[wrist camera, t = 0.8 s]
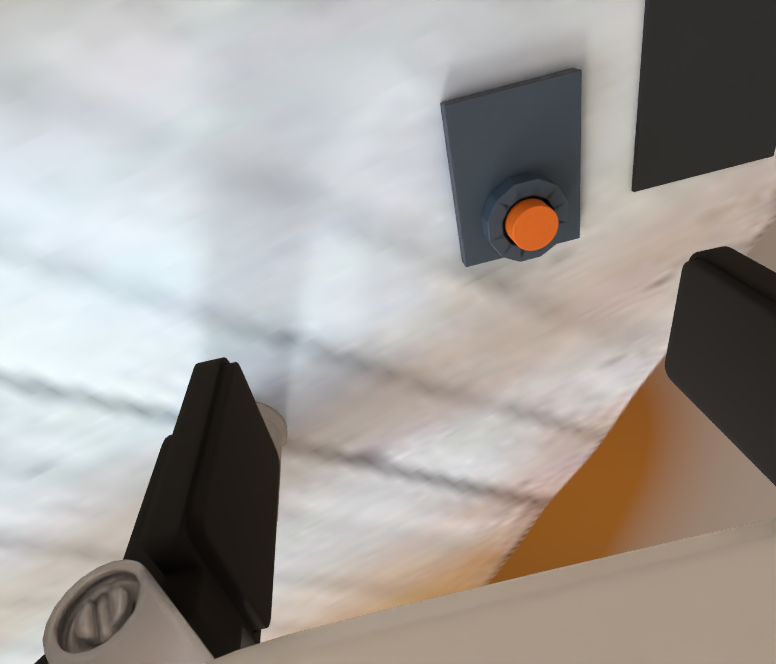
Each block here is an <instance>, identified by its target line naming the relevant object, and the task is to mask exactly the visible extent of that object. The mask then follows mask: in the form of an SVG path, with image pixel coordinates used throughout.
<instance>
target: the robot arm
mask: <svg viewBox="0 0 776 664" xmlns="http://www.w3.org/2000/svg"><path fill="white" fill-rule="evenodd" d="M665 369H666V373H667V375H668V377H669V378H670V380H671V381H672V382H673V383H674V384H675V385H676V386H677V387H678V388H679V389H680V390H681V391H682V392H683V393H684V394H685V395H686V396H687V397H688V398H689V399H690V400H691V401H692V402H693V403H694V404H695V405H696V406H697V407H698V408H699V409H700V410H701V411H702V412H703V413H704V414H705V415H706V416H707V417H708V418H709V419H710V420H711V421H712V422H713V423H714V424H715V425H716V426H717V427H718V428H719V429H720V430H721V431H722V432H723V433H724V434H725V435H726V436H727V437H728V438H729V439H730V440H731V441H732V442H733V443H734V444H735V445H736V446H737V447H738V448H739V449H740V450H741V451H742V453H744V455H745V456H746V457H747V458H748V459H750V461H752V463H753V464H755V466H756V467H757V468H758V469H759V470H760V471H761V472H762V473H763V474H764V475H765V476H766V477H767V478H768V479H769V480H770V481H771V482H772V483H773V484H774V485H775V486H776V273H775V272H774V271H772V270H770V269H768V268H766V267H764V266H763V265H761V264H759V263H757V262H755V261H753V260H752V259H750V258H748V257H746V256H745V255H743V254H741V253H739V252H737V251H736V250H734V249H732V248H730V247H727V246H723V247H718V248H713V249H709V250H704V251H700V252H696V253H694V254H693V255H692V256H691V257H690V259H689V261H688V262H686V263H685V264H684V265H683V268H682V273H681V278H680V284H679V289H678V295H677V300H676V305H675V311H674V316H673V322H672V327H671V333H670V338H669V343H668V349H667V354H666V360H665ZM279 479H280V460H279V456H278V452H277V449H276V447H275V445H274V443H273V440H272V438H271V436H270V433H269V431H268V429H267V427H266V424H265V422H264V420H263V418H262V415H261V413H260V411H259V408H258V406H257V404H256V402H255V399H254V397H253V395H252V392H251V390H250V388H249V386H248V383H247V381H246V379H245V376H244V374H243V372H242V370H241V367H240V366H239V364H238V363H237V362H233V363H230V362H229V361H228V360H227V358H224V357H223V358H219V359H214V360H210V361H205V362H201V363H197V364H196V365H195V367H194V369H193V372H192V375H191V379H190V382H189V385H188V388H187V391H186V394H185V397H184V400H183V403H182V406H181V410H180V413H179V416H178V419H177V422H176V425H175V428H174V431H173V434H172V435H169V436H168V437H167V438H165V440H164V442H163V444H162V446H161V449H160V452H159V455H158V458H157V461H156V464H155V467H154V470H153V473H152V476H151V479H150V482H149V485H148V488H147V491H146V493H145V496H144V499H143V502H142V505H141V508H140V511H139V514H138V517H137V520H136V523H135V526H134V529H133V532H132V535H131V538H130V541H129V544H128V547H127V549H126V552H125V555H124V558H123V560H119V561H112V562H110V563H107V564H105V565H103V566H100V567H98V568H96V569H94V570H93V571H91V572H90V573H88V574H87V575H85V576H84V577H82V578H81V579H80V580H79V581H78V582H76V583H75V584H74V585H73V586H72V587H71V588H70V589H69V590H68V591H67V592H66V593H65V594H64V596H63V597H62V598H61V600H60V601H59V602H58V604H57V605H56V606H55V607H54V609H53V611H52V613H51V615H50V617H49V619H48V621H47V623H46V627H45V631H44V636H43V646H44V652H45V654H44V655H43V656H42V657H41V658H40V659H39V660H38V661H37V662H36V663H34V664H776V518H773V519H769V520H764V521H760V522H756V523H751V524H747V525H742V526H738V527H734V528H729V529H725V530H721V531H716V532H712V533H707V534H703V535H699V536H695V537H690V538H686V539H682V540H677V541H673V542H669V543H664V544H660V545H656V546H652V547H647V548H643V549H639V550H634V551H630V552H626V553H621V554H617V555H613V556H609V557H604V558H600V559H596V560H592V561H587V562H583V563H579V564H574V565H570V566H566V567H562V568H557V569H553V570H549V571H545V572H541V573H536V574H532V575H528V576H524V577H519V578H515V579H511V580H507V581H503V582H498V583H494V584H490V585H486V586H482V587H477V588H473V589H469V590H465V591H461V592H457V593H452V594H448V595H444V596H440V597H436V598H431V599H427V600H423V601H419V602H415V603H410V604H406V605H402V606H398V607H394V608H390V609H385V610H382V611H378V612H374V613H370V614H366V615H362V616H358V617H354V618H350V619H347V620H343V621H339V622H335V623H331V624H327V625H323V626H319V627H315V628H312V629H308V630H304V631H300V632H296V633H292V634H288V635H285V636H282V637H278V638H275V639H272V640H269V641H265V642H262V643H260V637H261V629H264V628H268V627H269V625H270V621H271V608H272V592H273V576H274V560H275V543H276V527H277V511H278V495H279Z"/></svg>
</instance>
